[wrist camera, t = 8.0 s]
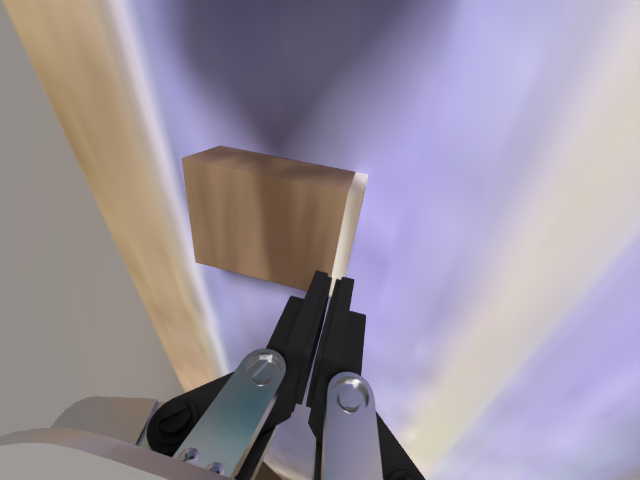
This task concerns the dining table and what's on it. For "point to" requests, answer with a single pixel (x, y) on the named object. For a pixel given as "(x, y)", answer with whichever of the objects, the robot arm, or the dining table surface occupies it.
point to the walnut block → (272, 215)
